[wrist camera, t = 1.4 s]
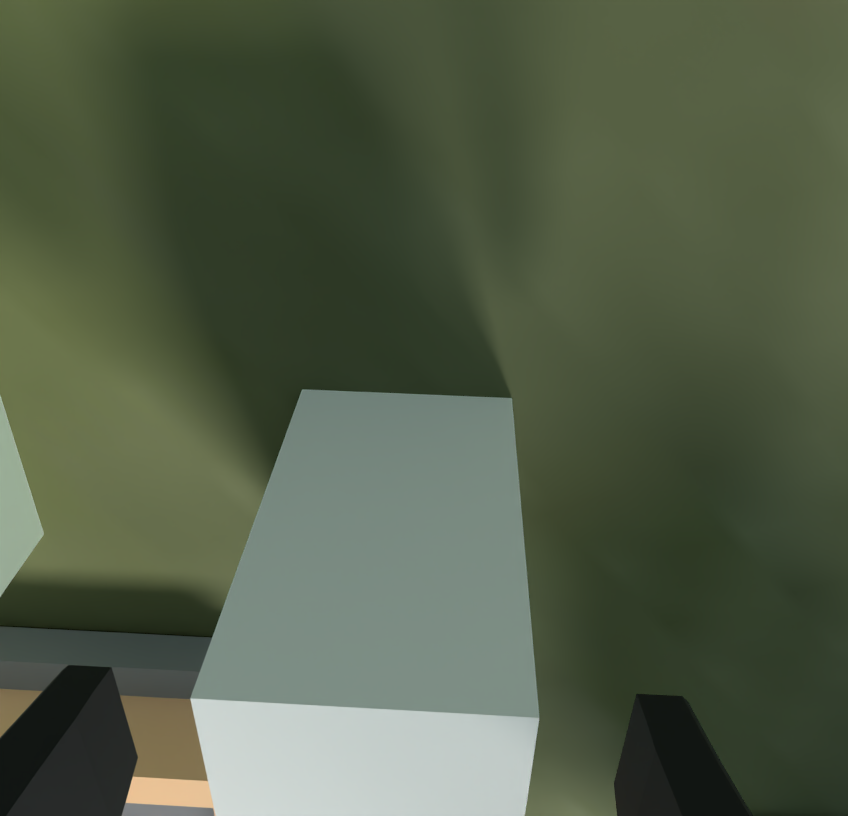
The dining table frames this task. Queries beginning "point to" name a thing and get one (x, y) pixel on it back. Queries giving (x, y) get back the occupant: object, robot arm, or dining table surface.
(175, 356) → the dining table surface
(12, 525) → the sage block
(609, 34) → the dining table surface
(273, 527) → the grey-green rectangular block
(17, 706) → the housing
